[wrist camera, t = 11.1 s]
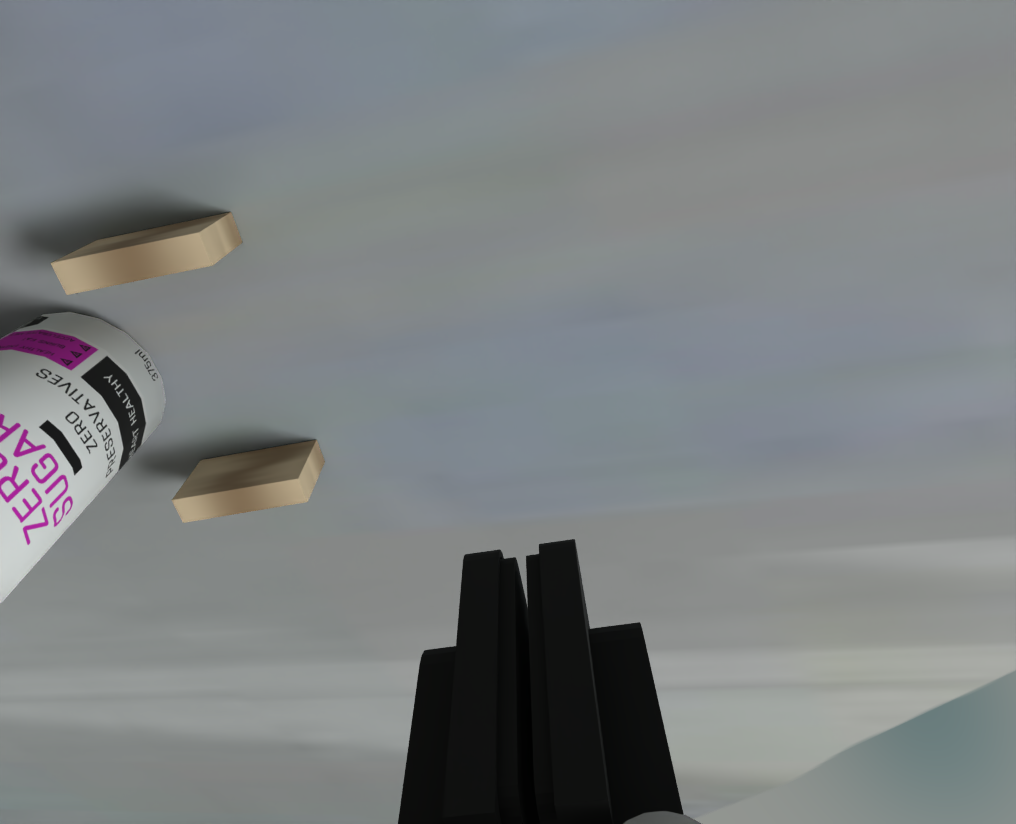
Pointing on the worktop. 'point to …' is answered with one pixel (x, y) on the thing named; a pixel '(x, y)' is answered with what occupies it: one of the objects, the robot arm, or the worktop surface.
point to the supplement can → (65, 427)
